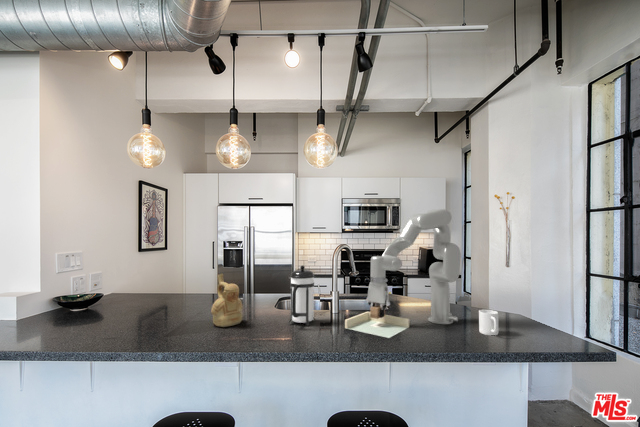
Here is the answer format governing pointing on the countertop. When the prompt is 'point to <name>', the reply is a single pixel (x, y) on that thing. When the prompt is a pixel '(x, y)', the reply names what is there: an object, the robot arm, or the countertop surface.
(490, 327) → the cup
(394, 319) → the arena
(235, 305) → the ceramic vessel
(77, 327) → the countertop surface
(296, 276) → the coffee press
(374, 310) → the copper block
